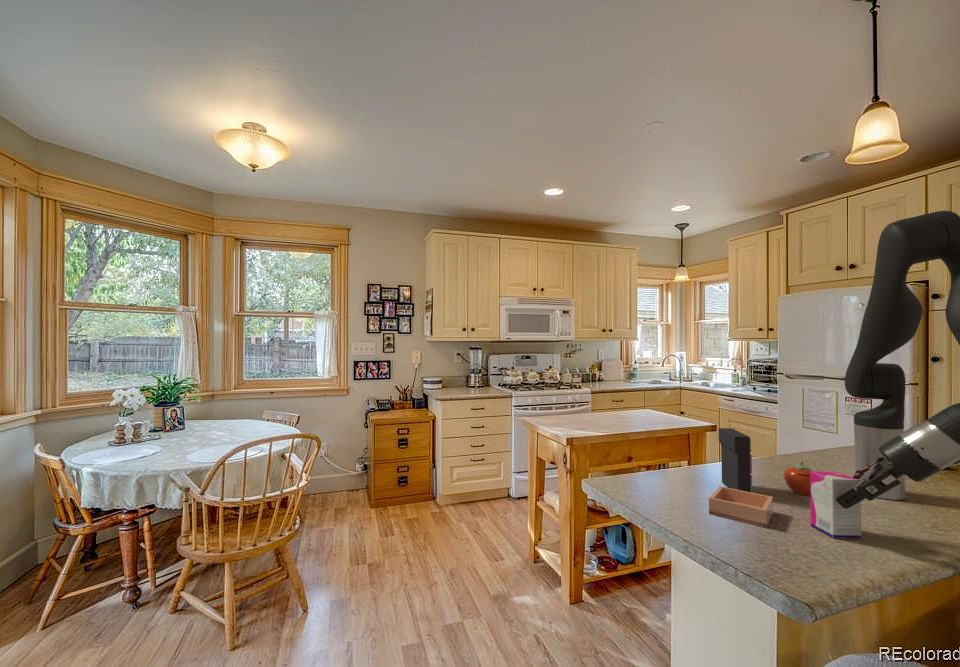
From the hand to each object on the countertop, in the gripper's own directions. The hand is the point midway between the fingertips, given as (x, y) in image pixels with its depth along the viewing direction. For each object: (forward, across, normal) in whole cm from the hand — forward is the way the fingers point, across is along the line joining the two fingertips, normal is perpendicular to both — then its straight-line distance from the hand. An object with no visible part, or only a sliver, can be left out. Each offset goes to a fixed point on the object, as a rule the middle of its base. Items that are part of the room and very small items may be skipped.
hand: (840, 498), depth 83 cm
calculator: (+20, -15, -10) cm, 27 cm away
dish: (+17, +2, -7) cm, 18 cm away
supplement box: (+6, 0, +4) cm, 7 cm away
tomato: (+11, -24, 0) cm, 26 cm away
